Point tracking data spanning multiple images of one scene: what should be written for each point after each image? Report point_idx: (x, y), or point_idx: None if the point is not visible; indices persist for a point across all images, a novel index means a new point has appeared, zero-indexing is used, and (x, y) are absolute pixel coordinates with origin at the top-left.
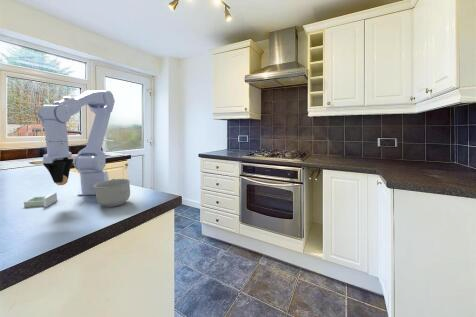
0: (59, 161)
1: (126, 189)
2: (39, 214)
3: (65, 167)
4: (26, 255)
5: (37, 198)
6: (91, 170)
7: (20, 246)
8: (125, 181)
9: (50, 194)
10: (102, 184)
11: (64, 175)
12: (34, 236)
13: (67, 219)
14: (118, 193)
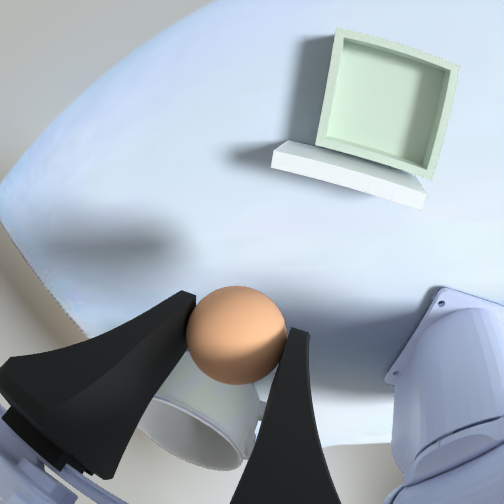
0: (82, 469)
1: (171, 430)
2: (167, 155)
3: (248, 460)
4: (3, 214)
5: (445, 84)
6: (415, 473)
7: (14, 194)
8: (220, 461)
9: (375, 178)
10: (220, 424)
11: (229, 384)
12: (36, 203)
13: (104, 257)
14: (153, 407)
